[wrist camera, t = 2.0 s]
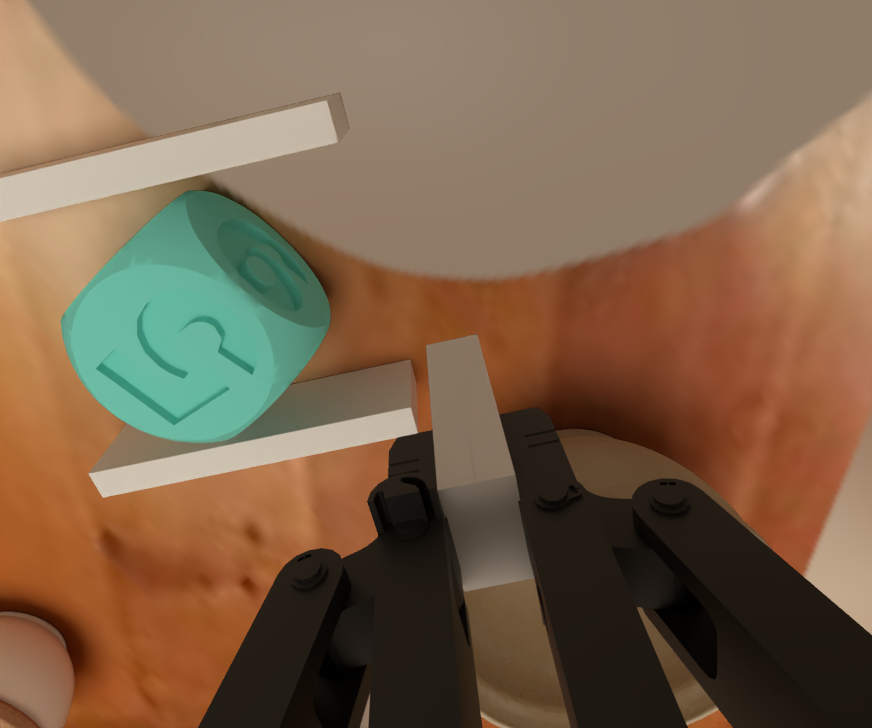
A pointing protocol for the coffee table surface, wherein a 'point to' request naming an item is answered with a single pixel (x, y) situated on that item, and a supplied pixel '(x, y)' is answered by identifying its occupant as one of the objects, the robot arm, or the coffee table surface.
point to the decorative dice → (196, 322)
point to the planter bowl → (521, 615)
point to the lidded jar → (33, 673)
